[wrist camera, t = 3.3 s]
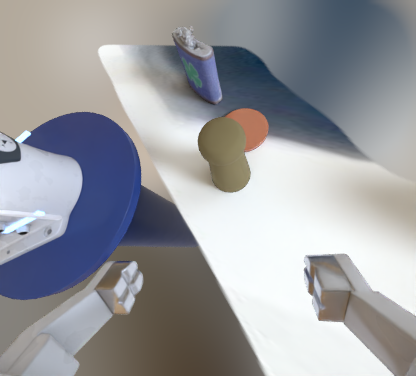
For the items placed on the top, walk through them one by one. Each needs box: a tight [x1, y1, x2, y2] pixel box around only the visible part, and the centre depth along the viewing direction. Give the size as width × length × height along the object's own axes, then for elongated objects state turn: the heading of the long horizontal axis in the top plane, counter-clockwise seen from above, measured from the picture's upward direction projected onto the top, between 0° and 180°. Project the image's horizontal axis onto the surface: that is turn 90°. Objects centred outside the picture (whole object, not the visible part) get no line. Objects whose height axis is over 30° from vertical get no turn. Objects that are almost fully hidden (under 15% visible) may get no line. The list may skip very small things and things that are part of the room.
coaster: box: [225, 108, 268, 152], centre depth 30 cm, size 8×8×1 cm
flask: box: [172, 26, 222, 104], centre depth 30 cm, size 9×3×11 cm, turn 38°
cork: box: [198, 117, 251, 192], centre depth 23 cm, size 6×6×11 cm
